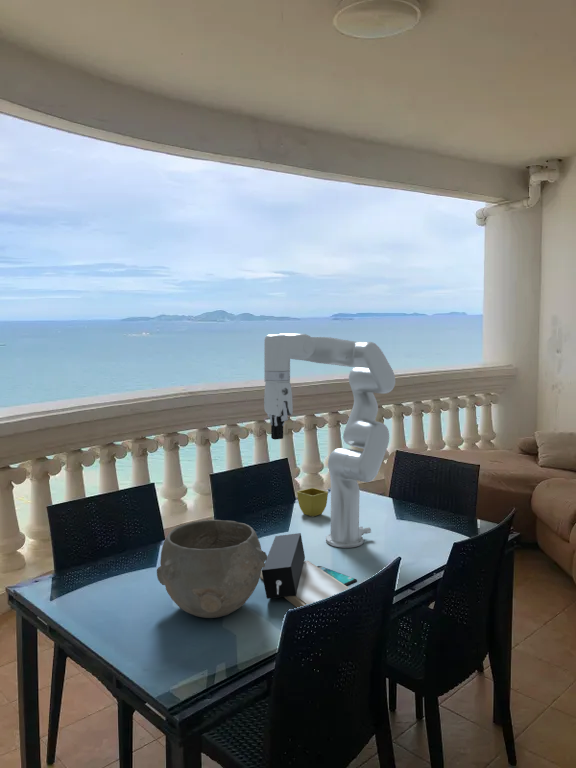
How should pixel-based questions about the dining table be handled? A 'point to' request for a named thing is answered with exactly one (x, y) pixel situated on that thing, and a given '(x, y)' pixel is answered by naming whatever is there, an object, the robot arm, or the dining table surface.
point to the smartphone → (339, 576)
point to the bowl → (211, 566)
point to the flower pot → (312, 501)
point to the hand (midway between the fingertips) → (277, 438)
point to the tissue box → (283, 566)
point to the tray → (314, 585)
